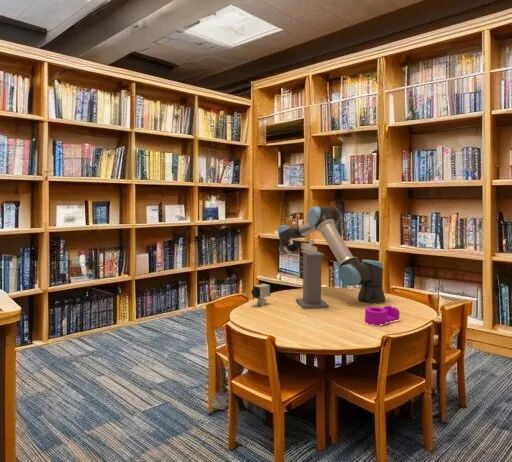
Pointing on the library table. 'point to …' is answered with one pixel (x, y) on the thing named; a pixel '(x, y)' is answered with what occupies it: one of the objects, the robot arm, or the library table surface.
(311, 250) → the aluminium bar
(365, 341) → the library table surface
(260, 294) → the grey camera
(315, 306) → the stand
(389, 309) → the tape dispenser
